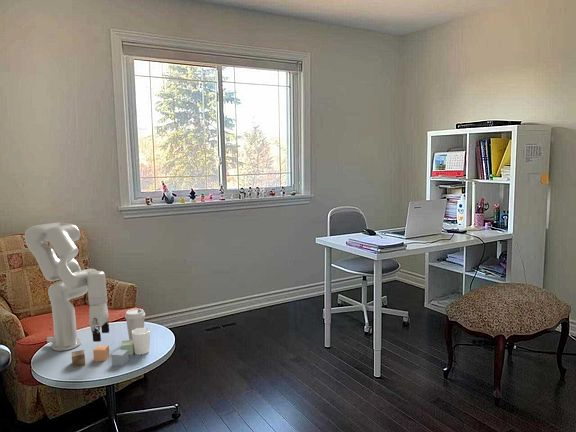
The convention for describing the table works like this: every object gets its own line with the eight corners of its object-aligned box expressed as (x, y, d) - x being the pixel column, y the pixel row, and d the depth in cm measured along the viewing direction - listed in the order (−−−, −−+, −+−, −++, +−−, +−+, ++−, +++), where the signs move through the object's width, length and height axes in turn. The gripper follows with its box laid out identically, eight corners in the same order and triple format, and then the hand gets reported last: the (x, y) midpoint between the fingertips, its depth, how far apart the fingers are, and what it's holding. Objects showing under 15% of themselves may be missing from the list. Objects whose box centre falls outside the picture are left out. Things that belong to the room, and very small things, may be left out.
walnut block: (72, 367, 193) (71, 356, 193) (72, 362, 198) (71, 351, 197) (85, 365, 196) (84, 354, 195) (84, 360, 200) (84, 349, 199)
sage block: (121, 356, 204) (120, 345, 203) (122, 351, 209) (122, 341, 208) (133, 354, 205) (132, 344, 204) (134, 350, 210) (133, 339, 209)
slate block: (112, 365, 195) (111, 354, 194) (118, 360, 200) (117, 349, 199) (122, 366, 194) (122, 355, 194) (128, 360, 199) (128, 350, 198)
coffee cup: (140, 345, 214) (138, 315, 212) (122, 344, 216) (120, 314, 214) (150, 337, 223) (148, 308, 221) (132, 336, 225) (131, 307, 223)
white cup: (135, 348, 212) (133, 328, 210) (152, 347, 212) (151, 327, 211) (130, 355, 204) (129, 334, 202) (148, 355, 205) (147, 334, 203)
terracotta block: (93, 361, 199) (93, 350, 199) (98, 355, 204) (97, 345, 203) (105, 360, 199) (104, 350, 199) (109, 355, 204) (108, 345, 204)
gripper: (97, 294, 206) (100, 330, 208) (81, 306, 189) (84, 345, 191) (113, 293, 206) (116, 329, 209) (99, 305, 189) (102, 344, 191)
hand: (101, 336), depth 200 cm, fingers open, 9 cm apart
